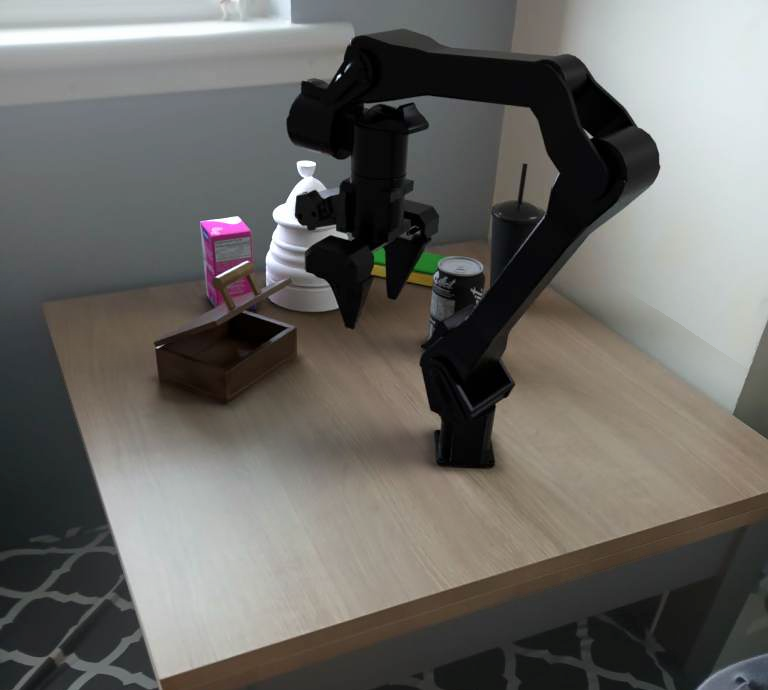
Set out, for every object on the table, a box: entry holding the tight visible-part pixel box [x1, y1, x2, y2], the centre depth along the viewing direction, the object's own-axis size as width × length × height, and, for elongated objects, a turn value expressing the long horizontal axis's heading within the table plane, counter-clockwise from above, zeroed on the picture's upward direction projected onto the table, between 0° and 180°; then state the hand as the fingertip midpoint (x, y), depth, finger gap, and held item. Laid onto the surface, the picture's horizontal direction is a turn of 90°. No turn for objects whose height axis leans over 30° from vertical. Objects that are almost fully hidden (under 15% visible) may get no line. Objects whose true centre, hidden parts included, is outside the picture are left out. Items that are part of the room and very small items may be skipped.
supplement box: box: [199, 215, 257, 311], centre depth 122 cm, size 6×6×12 cm
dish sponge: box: [370, 247, 447, 287], centre depth 137 cm, size 7×14×2 cm, turn 70°
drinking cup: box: [489, 163, 546, 288], centre depth 125 cm, size 8×8×20 cm
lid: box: [153, 261, 292, 348], centre depth 106 cm, size 11×15×5 cm
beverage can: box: [427, 255, 486, 341], centre depth 115 cm, size 7×7×12 cm
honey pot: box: [265, 160, 349, 313], centre depth 125 cm, size 13×13×18 cm
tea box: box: [154, 310, 298, 405], centre depth 110 cm, size 11×15×4 cm
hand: (371, 313), depth 99 cm, fingers open, 9 cm apart
